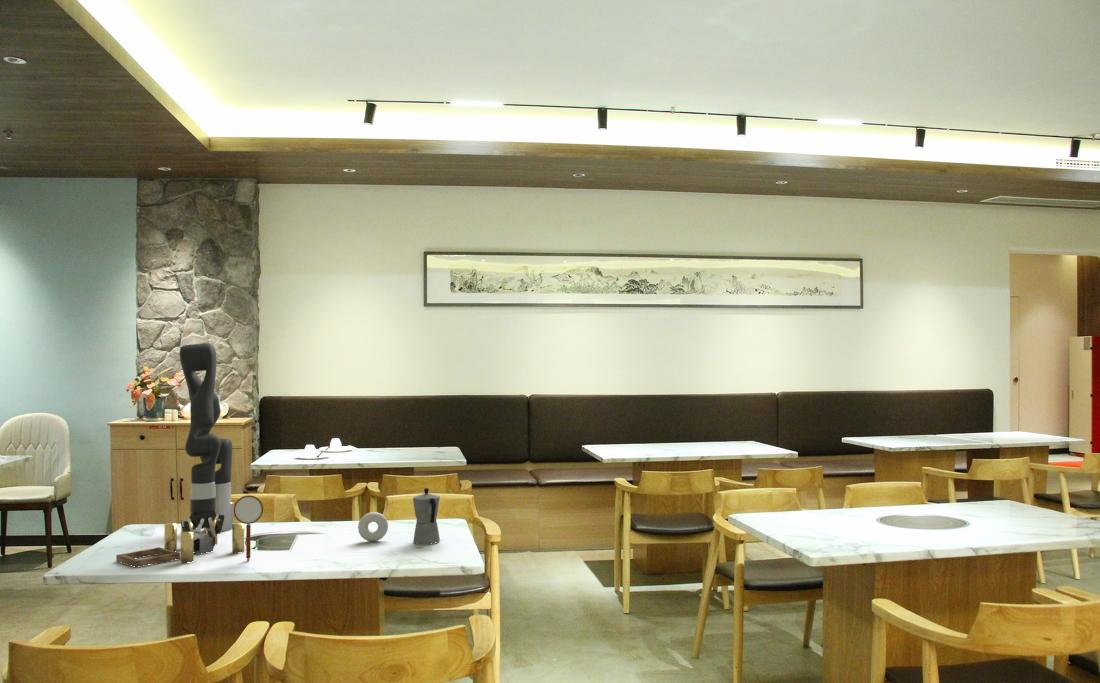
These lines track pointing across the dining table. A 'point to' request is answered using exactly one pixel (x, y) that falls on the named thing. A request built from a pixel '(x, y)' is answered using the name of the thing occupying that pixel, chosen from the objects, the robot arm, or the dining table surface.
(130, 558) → the tray
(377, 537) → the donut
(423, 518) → the coffeepot
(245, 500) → the magnifying glass
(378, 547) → the dining table surface
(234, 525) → the standing stones
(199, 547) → the grey block
